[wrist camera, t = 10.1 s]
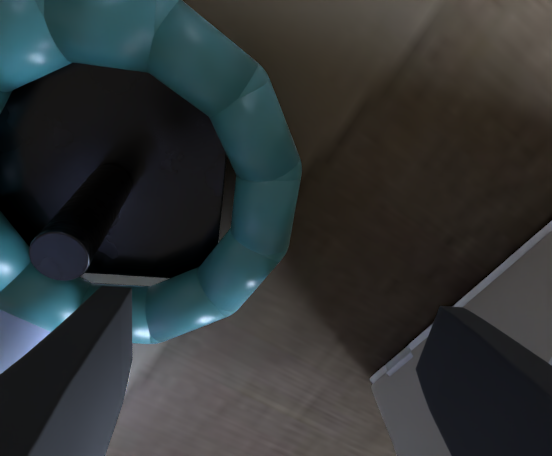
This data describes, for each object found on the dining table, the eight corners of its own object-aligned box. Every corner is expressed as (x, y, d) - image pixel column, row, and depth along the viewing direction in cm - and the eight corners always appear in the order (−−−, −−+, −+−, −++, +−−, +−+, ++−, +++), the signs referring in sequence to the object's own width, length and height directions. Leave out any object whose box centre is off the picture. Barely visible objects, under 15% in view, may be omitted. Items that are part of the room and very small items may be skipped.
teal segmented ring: (268, 324, 21) (273, 360, 19) (-36, 310, 19) (-71, 348, 17) (321, 18, 15) (337, 18, 13) (-117, -55, 13) (-190, -70, 11)
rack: (215, 267, 21) (209, 379, 14) (19, 254, 19) (-84, 372, 13) (233, 78, 17) (236, 115, 10) (-11, 44, 15) (-181, 63, 9)
